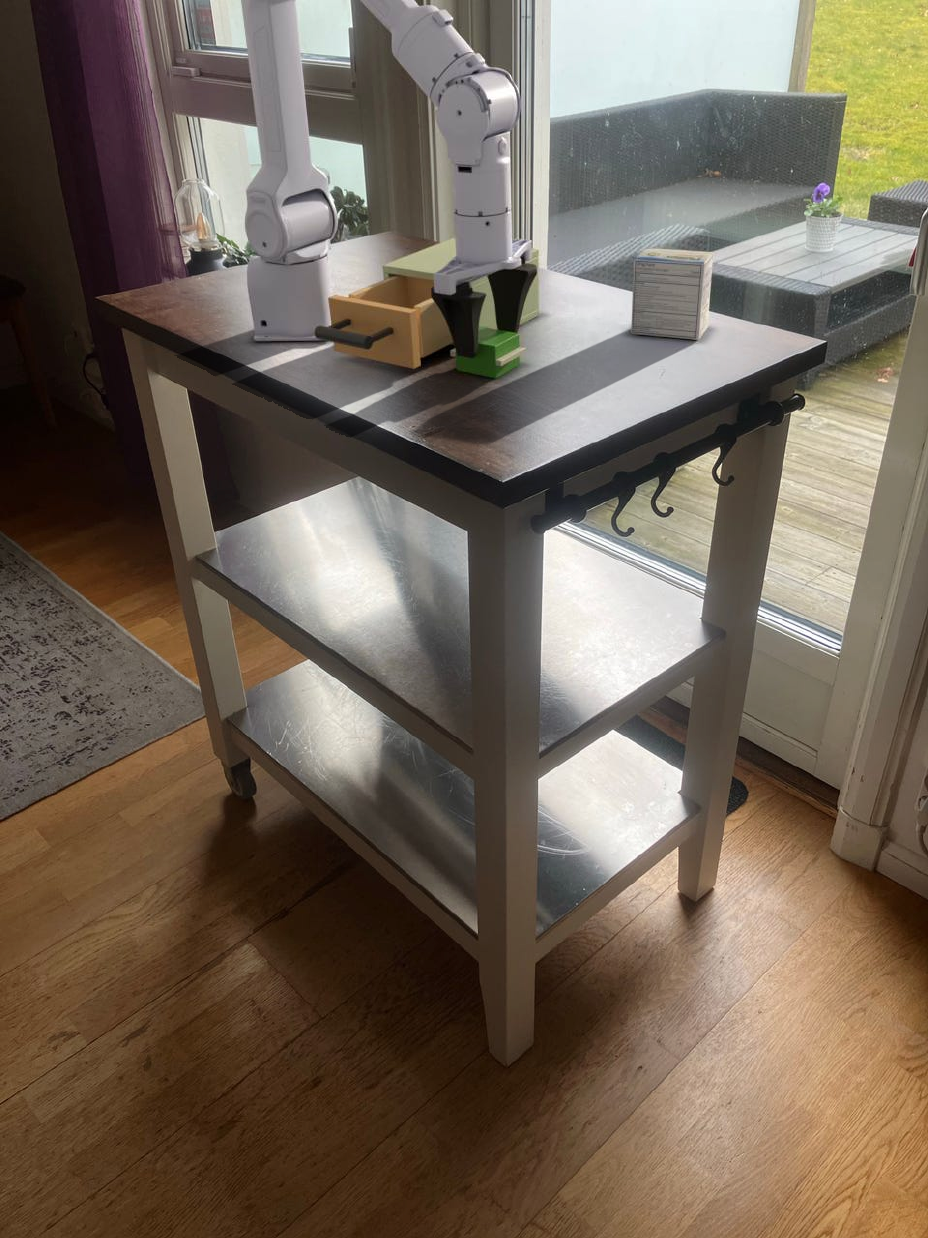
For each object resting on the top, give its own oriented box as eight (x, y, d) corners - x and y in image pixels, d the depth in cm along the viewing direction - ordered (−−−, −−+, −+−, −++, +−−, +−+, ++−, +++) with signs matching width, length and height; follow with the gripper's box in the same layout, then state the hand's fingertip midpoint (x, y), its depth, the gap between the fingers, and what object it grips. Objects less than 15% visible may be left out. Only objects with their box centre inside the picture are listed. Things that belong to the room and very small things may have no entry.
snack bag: (525, 366, 109) (525, 334, 107) (501, 380, 106) (500, 347, 104) (475, 355, 112) (474, 324, 110) (451, 369, 109) (449, 337, 107)
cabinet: (474, 349, 114) (470, 279, 109) (388, 332, 120) (382, 265, 116) (539, 315, 123) (538, 249, 118) (456, 300, 129) (452, 237, 125)
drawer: (384, 384, 104) (378, 326, 100) (304, 365, 110) (296, 310, 106) (482, 334, 115) (479, 281, 112) (404, 319, 121) (400, 268, 118)
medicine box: (708, 329, 115) (715, 251, 111) (698, 341, 112) (705, 262, 107) (641, 323, 118) (645, 246, 113) (629, 335, 115) (633, 257, 110)
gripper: (472, 230, 93) (478, 372, 101) (556, 198, 102) (555, 330, 110) (412, 223, 97) (423, 360, 104) (498, 192, 106) (502, 320, 114)
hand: (487, 344), depth 107 cm, fingers open, 7 cm apart
